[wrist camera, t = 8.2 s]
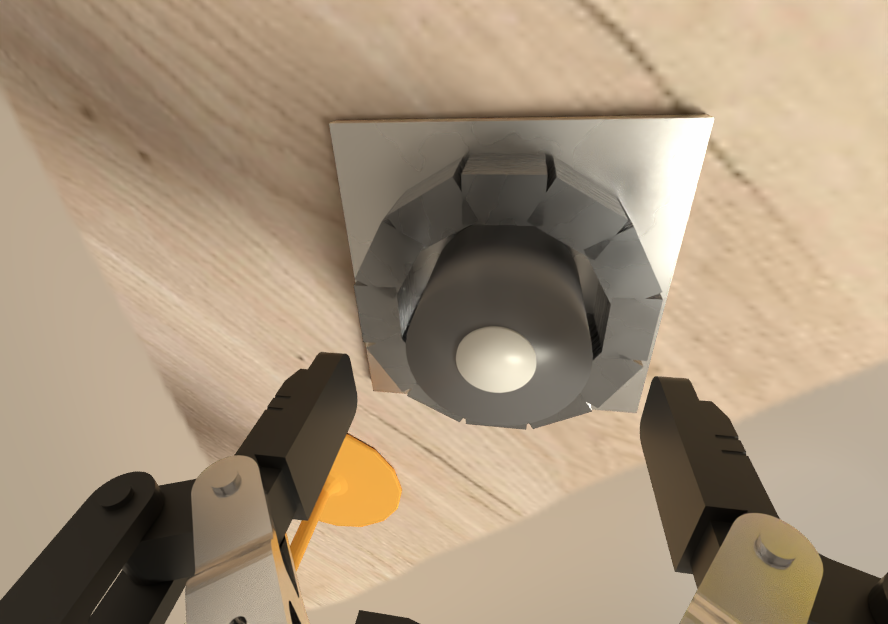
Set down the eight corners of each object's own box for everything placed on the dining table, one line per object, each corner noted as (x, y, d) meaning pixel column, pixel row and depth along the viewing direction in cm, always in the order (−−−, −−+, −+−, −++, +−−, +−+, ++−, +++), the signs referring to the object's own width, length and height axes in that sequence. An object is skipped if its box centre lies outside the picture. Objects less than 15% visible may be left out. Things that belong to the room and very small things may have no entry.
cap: (429, 216, 16) (396, 274, 12) (588, 220, 15) (607, 284, 11) (436, 341, 19) (411, 420, 15) (570, 351, 18) (580, 437, 14)
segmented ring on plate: (335, 120, 15) (296, 138, 13) (707, 114, 14) (749, 134, 11) (376, 382, 22) (356, 430, 19) (633, 403, 20) (649, 459, 17)
